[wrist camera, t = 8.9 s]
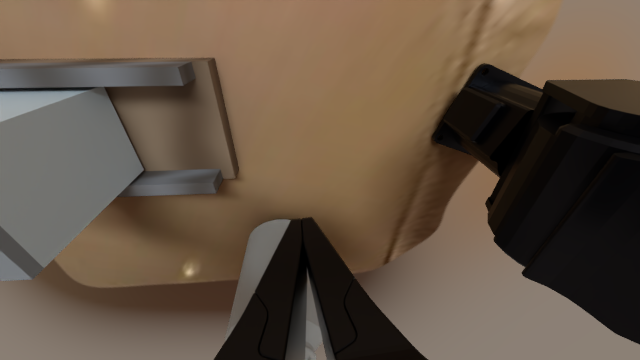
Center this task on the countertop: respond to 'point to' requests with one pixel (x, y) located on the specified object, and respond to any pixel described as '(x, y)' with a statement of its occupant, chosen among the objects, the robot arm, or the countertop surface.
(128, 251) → the countertop surface
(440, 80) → the countertop surface
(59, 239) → the grey rectangular box
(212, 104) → the grey rail holder
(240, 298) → the can
